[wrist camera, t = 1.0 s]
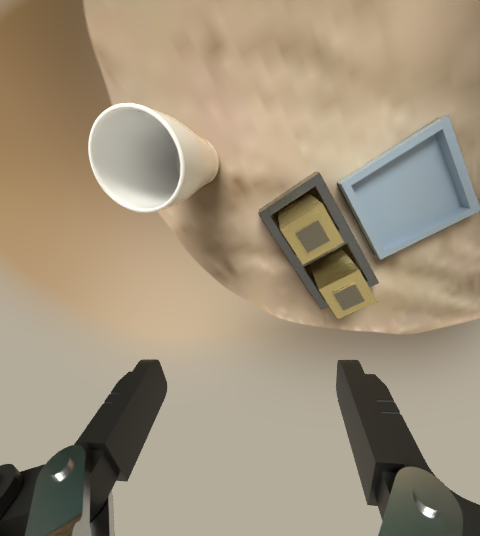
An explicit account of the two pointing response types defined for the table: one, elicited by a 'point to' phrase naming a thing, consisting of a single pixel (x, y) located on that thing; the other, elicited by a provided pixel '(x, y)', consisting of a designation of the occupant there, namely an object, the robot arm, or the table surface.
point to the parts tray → (411, 189)
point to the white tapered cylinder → (148, 158)
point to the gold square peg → (341, 283)
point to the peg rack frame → (339, 222)
